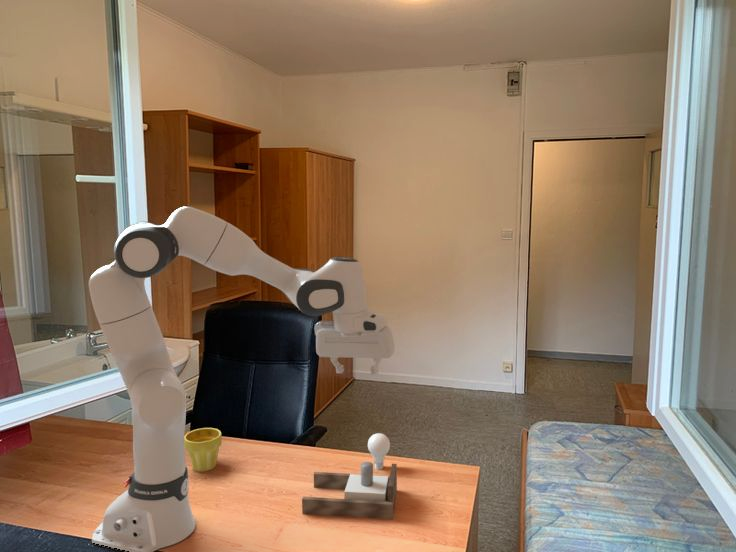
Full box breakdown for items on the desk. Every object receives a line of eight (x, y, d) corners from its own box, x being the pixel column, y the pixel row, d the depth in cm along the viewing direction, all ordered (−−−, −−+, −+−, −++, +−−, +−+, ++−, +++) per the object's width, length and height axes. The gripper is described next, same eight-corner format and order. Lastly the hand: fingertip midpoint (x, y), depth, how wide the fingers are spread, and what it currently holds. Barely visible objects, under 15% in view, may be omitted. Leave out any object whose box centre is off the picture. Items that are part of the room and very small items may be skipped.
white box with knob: (344, 510, 134) (344, 472, 133) (350, 492, 143) (349, 455, 142) (385, 513, 133) (385, 474, 132) (388, 494, 142) (388, 457, 141)
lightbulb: (390, 476, 154) (390, 438, 152) (367, 476, 154) (367, 438, 152) (389, 465, 160) (389, 429, 159) (367, 465, 160) (367, 429, 159)
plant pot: (194, 478, 153) (193, 445, 152) (179, 465, 161) (178, 433, 159) (228, 467, 160) (227, 435, 158) (213, 455, 167) (211, 424, 166)
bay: (302, 517, 133) (301, 483, 132) (314, 488, 147) (314, 457, 146) (392, 523, 131) (392, 488, 130) (396, 493, 144) (396, 461, 143)
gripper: (308, 324, 137) (315, 376, 140) (386, 324, 130) (391, 379, 133) (318, 317, 143) (324, 367, 146) (393, 316, 136) (398, 369, 139)
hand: (357, 373), depth 139 cm, fingers open, 8 cm apart
